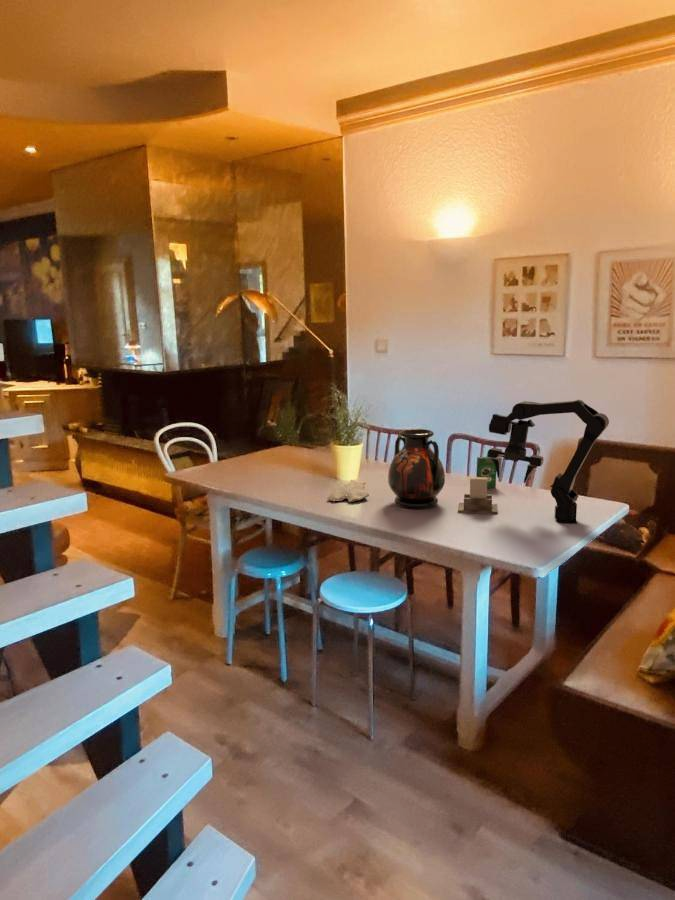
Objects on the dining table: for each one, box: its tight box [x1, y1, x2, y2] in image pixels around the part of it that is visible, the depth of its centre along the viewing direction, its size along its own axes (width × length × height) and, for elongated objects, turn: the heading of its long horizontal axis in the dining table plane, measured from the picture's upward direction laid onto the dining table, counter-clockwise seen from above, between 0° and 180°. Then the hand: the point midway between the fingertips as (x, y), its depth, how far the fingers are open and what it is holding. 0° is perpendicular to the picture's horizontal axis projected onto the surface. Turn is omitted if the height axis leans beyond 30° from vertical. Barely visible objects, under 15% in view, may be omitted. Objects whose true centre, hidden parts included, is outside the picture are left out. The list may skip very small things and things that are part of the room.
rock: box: [326, 479, 370, 503], centre depth 264 cm, size 21×5×15 cm
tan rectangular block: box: [469, 476, 488, 499], centre depth 244 cm, size 6×3×11 cm, turn 78°
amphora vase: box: [387, 428, 446, 510], centre depth 251 cm, size 22×22×28 cm
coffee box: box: [475, 456, 497, 489], centre depth 273 cm, size 8×3×13 cm, turn 106°
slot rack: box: [457, 493, 498, 515], centre depth 245 cm, size 14×10×5 cm
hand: (511, 480), depth 236 cm, fingers open, 9 cm apart
